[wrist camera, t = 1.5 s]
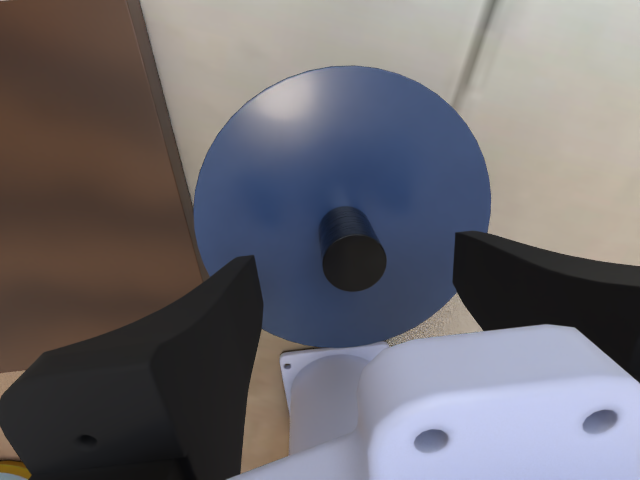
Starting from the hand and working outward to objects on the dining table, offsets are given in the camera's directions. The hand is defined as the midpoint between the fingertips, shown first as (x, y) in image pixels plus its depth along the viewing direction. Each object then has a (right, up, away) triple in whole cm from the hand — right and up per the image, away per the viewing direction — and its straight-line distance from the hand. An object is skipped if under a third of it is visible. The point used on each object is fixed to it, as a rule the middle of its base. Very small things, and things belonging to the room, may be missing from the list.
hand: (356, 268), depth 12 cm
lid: (0, +2, +4) cm, 4 cm away
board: (-16, +3, +8) cm, 18 cm away
